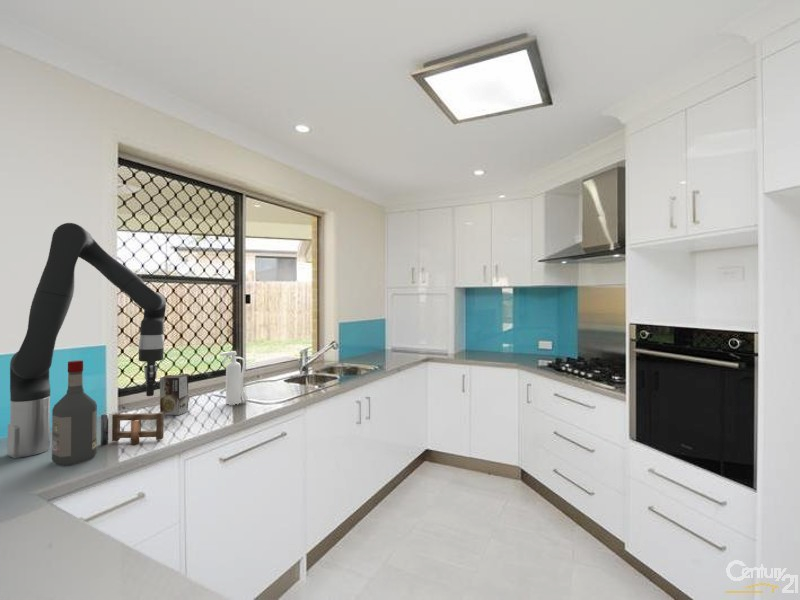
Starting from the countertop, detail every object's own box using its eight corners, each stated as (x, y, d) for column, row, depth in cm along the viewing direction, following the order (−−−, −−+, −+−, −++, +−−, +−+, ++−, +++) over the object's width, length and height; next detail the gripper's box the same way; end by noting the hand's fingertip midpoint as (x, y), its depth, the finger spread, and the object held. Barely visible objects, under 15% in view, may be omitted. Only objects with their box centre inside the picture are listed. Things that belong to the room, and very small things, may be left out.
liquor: (62, 468, 111) (63, 364, 111) (49, 461, 116) (50, 362, 116) (99, 457, 119) (100, 360, 119) (85, 451, 124) (86, 358, 124)
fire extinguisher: (248, 403, 182) (247, 350, 182) (220, 406, 178) (219, 352, 178) (249, 400, 188) (248, 349, 189) (222, 403, 184) (221, 351, 185)
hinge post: (102, 445, 129) (102, 415, 129) (99, 444, 130) (99, 414, 130) (109, 443, 130) (109, 414, 130) (106, 442, 131) (106, 413, 131)
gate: (112, 441, 131) (112, 414, 131) (115, 439, 133) (115, 413, 133) (161, 439, 133) (161, 413, 133) (163, 438, 135) (163, 412, 135)
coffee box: (188, 411, 169) (189, 374, 169) (179, 415, 163) (179, 377, 163) (169, 410, 170) (169, 374, 170) (159, 414, 164) (159, 377, 164)
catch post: (132, 445, 129) (133, 421, 129) (129, 444, 130) (129, 420, 130) (140, 443, 131) (140, 420, 131) (137, 442, 132) (137, 418, 132)
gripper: (165, 348, 135) (163, 398, 135) (162, 345, 146) (160, 391, 145) (139, 349, 131) (137, 400, 130) (138, 346, 141) (136, 393, 141)
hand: (149, 395), depth 138 cm, fingers closed
